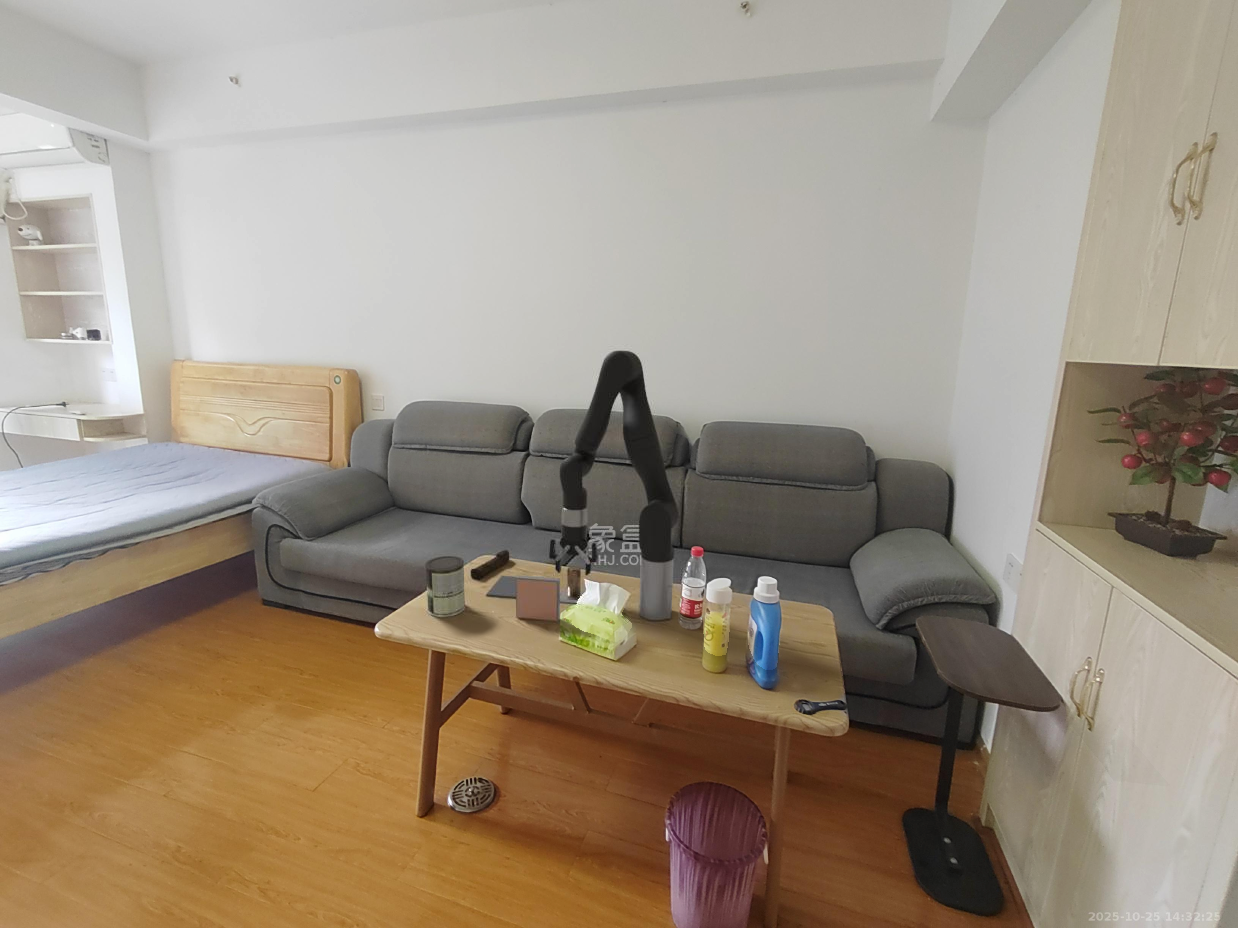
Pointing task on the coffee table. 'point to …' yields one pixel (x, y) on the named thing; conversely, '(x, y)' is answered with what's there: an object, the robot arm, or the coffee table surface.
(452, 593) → the coffee can
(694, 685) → the coffee table surface
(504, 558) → the dark brown bar
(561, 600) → the brown post on base
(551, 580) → the tile
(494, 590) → the rest mat
